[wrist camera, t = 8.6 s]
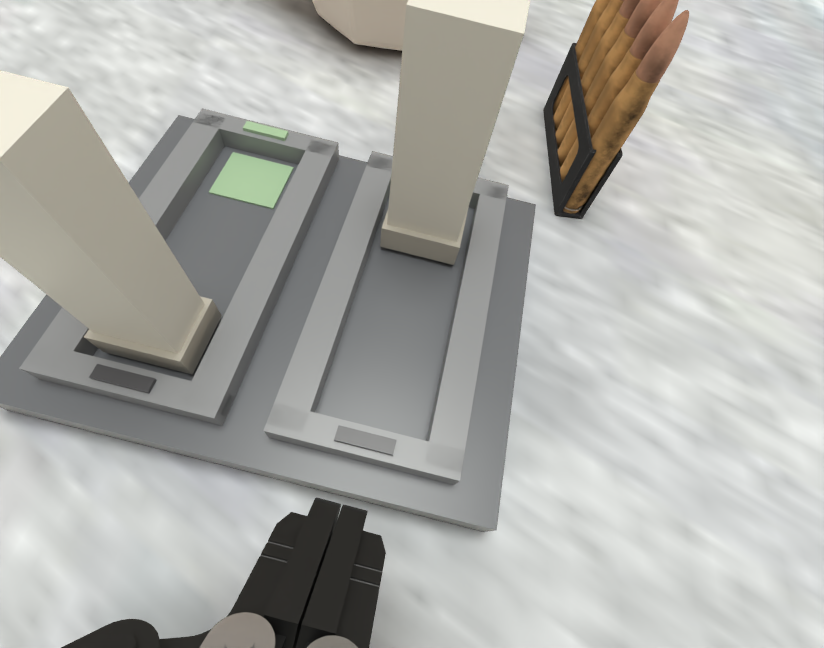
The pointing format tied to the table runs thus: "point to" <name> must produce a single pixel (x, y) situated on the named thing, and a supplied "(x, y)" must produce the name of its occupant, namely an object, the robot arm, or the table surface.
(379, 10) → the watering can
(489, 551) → the table surface
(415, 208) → the tab
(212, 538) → the table surface
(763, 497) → the table surface
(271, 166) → the switch board
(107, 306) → the tab
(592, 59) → the ammunition clip
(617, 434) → the table surface
